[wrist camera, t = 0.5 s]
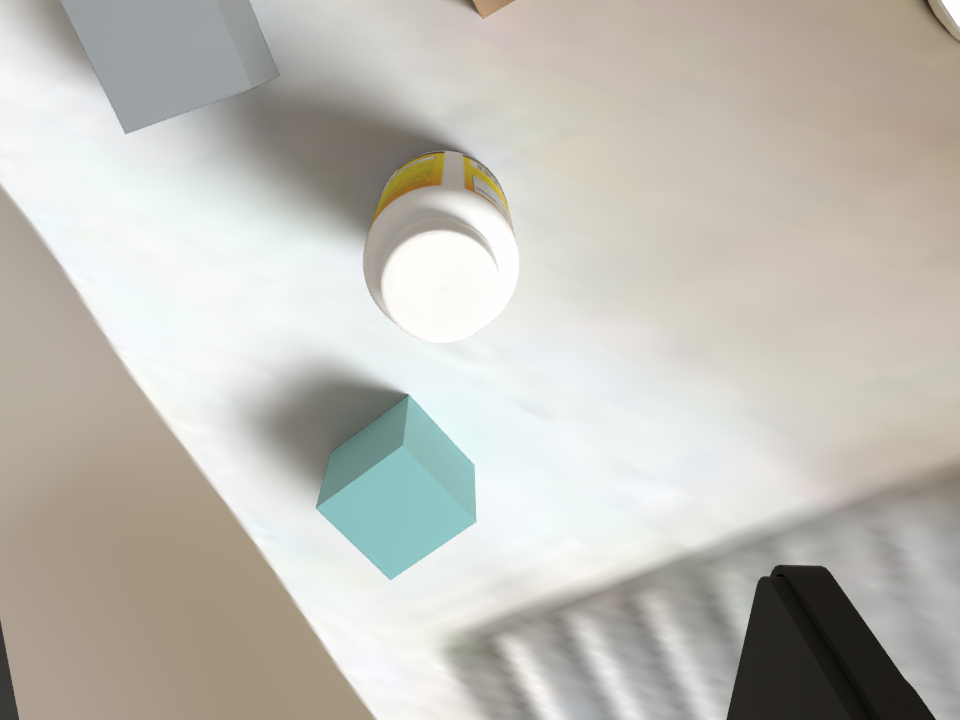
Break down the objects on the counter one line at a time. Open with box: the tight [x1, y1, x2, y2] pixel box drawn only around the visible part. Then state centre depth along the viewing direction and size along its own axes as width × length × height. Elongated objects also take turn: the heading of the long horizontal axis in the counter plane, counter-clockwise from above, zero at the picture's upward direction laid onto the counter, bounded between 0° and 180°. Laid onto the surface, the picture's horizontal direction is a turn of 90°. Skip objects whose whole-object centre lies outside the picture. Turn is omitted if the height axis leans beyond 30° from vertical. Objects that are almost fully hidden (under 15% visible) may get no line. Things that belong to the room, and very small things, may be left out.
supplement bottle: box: [363, 151, 519, 343], centre depth 33 cm, size 6×6×10 cm
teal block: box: [316, 395, 476, 580], centre depth 40 cm, size 5×5×5 cm
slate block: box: [60, 0, 279, 134], centre depth 32 cm, size 5×5×5 cm
